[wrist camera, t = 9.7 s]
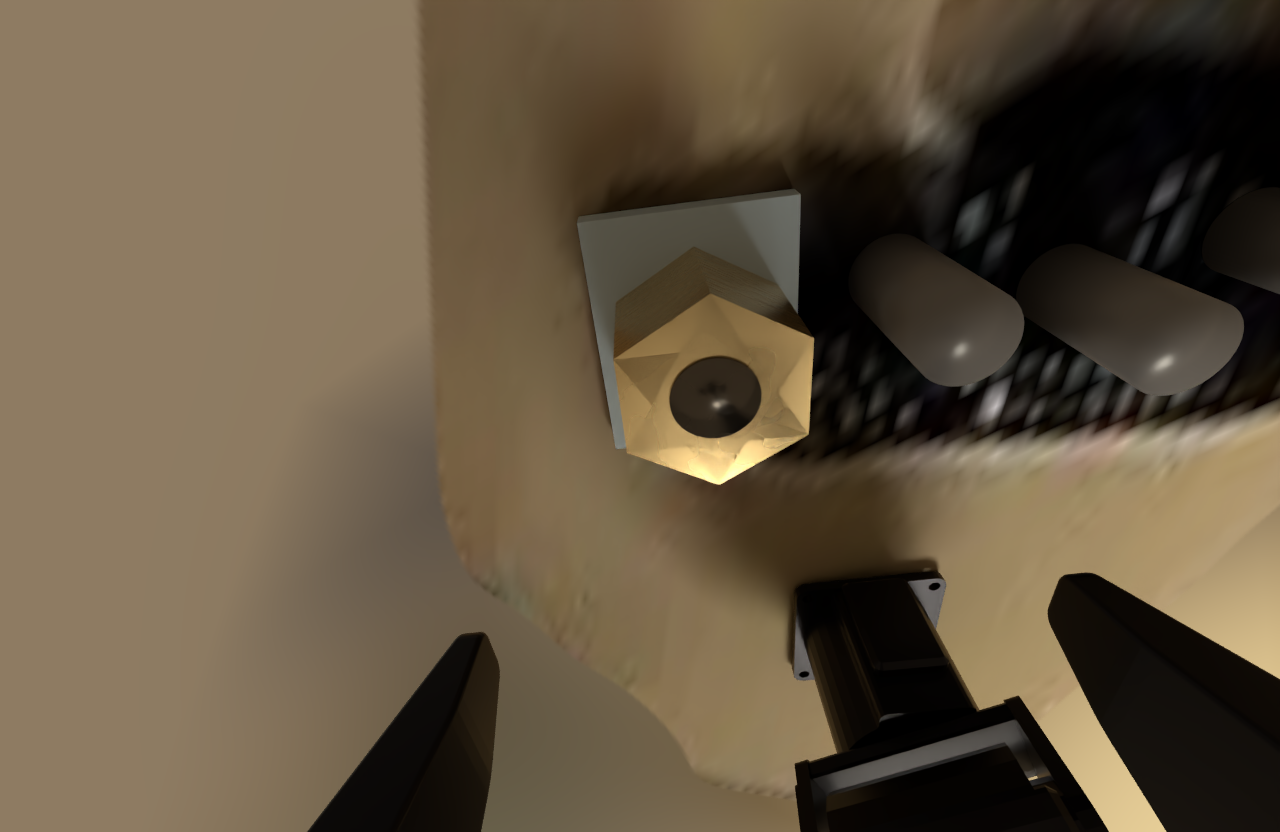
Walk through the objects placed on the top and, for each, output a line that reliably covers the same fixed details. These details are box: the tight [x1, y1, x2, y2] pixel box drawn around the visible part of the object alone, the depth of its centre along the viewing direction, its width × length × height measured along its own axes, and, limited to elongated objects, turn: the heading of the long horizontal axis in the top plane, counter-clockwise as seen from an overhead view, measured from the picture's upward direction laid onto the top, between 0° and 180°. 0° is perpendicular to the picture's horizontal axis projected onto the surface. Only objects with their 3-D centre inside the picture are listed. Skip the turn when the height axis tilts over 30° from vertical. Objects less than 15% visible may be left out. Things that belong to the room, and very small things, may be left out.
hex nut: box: [613, 247, 814, 485], centre depth 17 cm, size 6×5×4 cm
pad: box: [577, 189, 801, 449], centre depth 19 cm, size 8×6×1 cm
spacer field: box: [848, 187, 1280, 396], centre depth 13 cm, size 15×14×5 cm
